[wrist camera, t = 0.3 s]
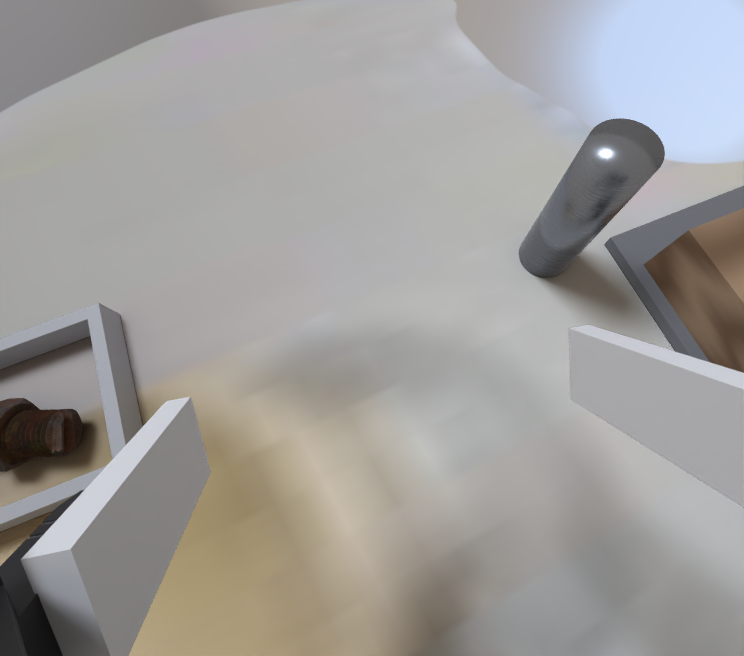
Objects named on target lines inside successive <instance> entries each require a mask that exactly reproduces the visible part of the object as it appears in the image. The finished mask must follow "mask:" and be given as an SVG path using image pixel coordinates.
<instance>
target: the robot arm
mask: <svg viewBox="0 0 744 656" xmlns="http://www.w3.org/2000/svg"><path fill="white" fill-rule="evenodd" d="M569 362H570V395H571V400H572V401H574V402H575V403H577V404H579V405H580V406H582V407H583V408H585V409H587V410H588V411H590V412H591V413H593V414H595V415H596V416H598V417H599V418H601V419H603V420H604V421H606V422H607V423H609V424H611V425H612V426H614V427H615V428H617V429H619V430H620V431H622V432H623V433H625V434H627V435H628V436H630V437H631V438H633V439H635V440H636V441H638V442H639V443H641V444H643V445H644V446H646V447H647V448H649V449H651V450H652V451H654V452H655V453H657V454H659V455H660V456H662V457H663V458H665V459H667V460H668V461H670V462H671V463H673V464H675V465H676V466H678V467H679V468H681V469H683V470H684V471H686V472H687V473H689V474H691V475H692V476H694V477H695V478H697V479H699V480H700V481H702V482H703V483H705V484H707V485H708V486H710V487H711V488H713V489H715V490H716V491H718V492H719V493H721V494H723V495H724V496H726V497H727V498H729V499H731V500H732V501H734V502H735V503H737V504H739V505H740V506H742V507H743V508H744V373H742V372H739V371H736V370H733V369H729V368H726V367H723V366H720V365H717V364H713V363H710V362H707V361H704V360H700V359H697V358H694V357H691V356H688V355H684V354H681V353H678V352H675V351H672V350H668V349H665V348H662V347H659V346H655V345H652V344H649V343H646V342H643V341H639V340H636V339H633V338H630V337H626V336H623V335H620V334H617V333H614V332H610V331H607V330H604V329H601V328H597V327H594V326H591V325H584V326H578V327H573V328H569ZM210 472H211V471H210V467H209V463H208V459H207V456H206V452H205V448H204V444H203V441H202V437H201V433H200V429H199V426H198V422H197V418H196V414H195V410H194V407H193V403H192V399H191V397H186V398H181V399H175V400H170V401H166V402H165V403H164V404H163V405H162V406H161V407H160V409H159V410H158V411H157V412H156V413H155V414H154V415H153V416H152V417H151V418H150V419H149V421H148V422H147V423H146V424H145V425H144V426H143V427H142V428H141V429H140V430H139V431H138V432H137V434H136V435H135V436H134V437H133V438H132V439H131V440H130V441H129V442H128V443H127V444H126V446H125V447H124V448H123V449H122V450H121V451H120V452H119V453H118V454H117V455H116V456H115V457H114V459H113V460H112V461H111V462H110V463H109V464H108V465H107V466H106V467H105V468H104V469H103V471H102V472H101V473H100V474H99V475H98V476H97V477H96V478H95V479H94V480H93V481H92V482H91V484H90V485H89V486H88V487H87V488H86V489H85V490H81V491H79V492H78V493H76V494H75V495H73V496H72V497H71V498H69V499H68V500H66V501H65V502H63V503H62V504H61V505H59V506H58V507H57V508H56V509H55V510H54V511H53V512H52V513H51V514H50V515H49V516H48V517H47V518H46V519H45V520H44V522H43V525H40V526H39V527H38V528H37V529H36V530H35V531H34V532H33V533H32V534H31V535H30V539H26V540H25V541H24V542H23V543H22V544H21V545H20V546H19V547H18V549H17V550H16V551H15V552H14V553H13V554H12V555H11V556H10V557H9V558H8V559H7V560H6V561H5V562H4V563H3V564H2V565H1V566H0V656H128V655H129V653H130V651H131V648H132V646H133V644H134V642H135V639H136V637H137V635H138V633H139V631H140V628H141V626H142V624H143V622H144V619H145V617H146V615H147V613H148V611H149V608H150V606H151V604H152V602H153V599H154V597H155V595H156V593H157V590H158V588H159V586H160V584H161V582H162V579H163V577H164V575H165V573H166V570H167V568H168V566H169V564H170V561H171V559H172V557H173V555H174V553H175V550H176V548H177V546H178V544H179V541H180V539H181V537H182V535H183V532H184V530H185V528H186V526H187V524H188V521H189V519H190V517H191V515H192V512H193V510H194V508H195V506H196V503H197V501H198V499H199V497H200V495H201V492H202V490H203V488H204V486H205V483H206V481H207V479H208V477H209V475H210Z"/></svg>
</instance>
